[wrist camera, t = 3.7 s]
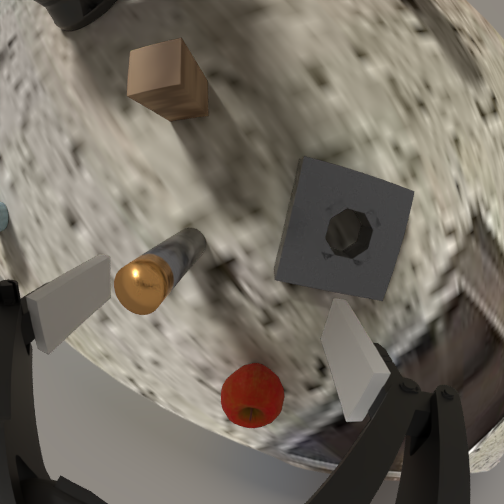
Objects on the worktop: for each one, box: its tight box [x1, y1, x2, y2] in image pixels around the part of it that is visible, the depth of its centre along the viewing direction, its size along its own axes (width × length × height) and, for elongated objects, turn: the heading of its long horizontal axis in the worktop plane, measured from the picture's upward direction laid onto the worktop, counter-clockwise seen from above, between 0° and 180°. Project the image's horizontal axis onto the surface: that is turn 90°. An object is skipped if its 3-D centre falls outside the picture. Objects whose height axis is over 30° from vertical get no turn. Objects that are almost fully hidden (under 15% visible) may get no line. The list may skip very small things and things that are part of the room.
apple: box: [221, 363, 284, 428], centre depth 33 cm, size 9×8×11 cm
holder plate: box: [274, 156, 414, 301], centre depth 31 cm, size 14×14×4 cm
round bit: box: [114, 228, 206, 315], centre depth 26 cm, size 4×4×16 cm
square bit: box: [127, 38, 208, 121], centre depth 24 cm, size 5×5×12 cm
